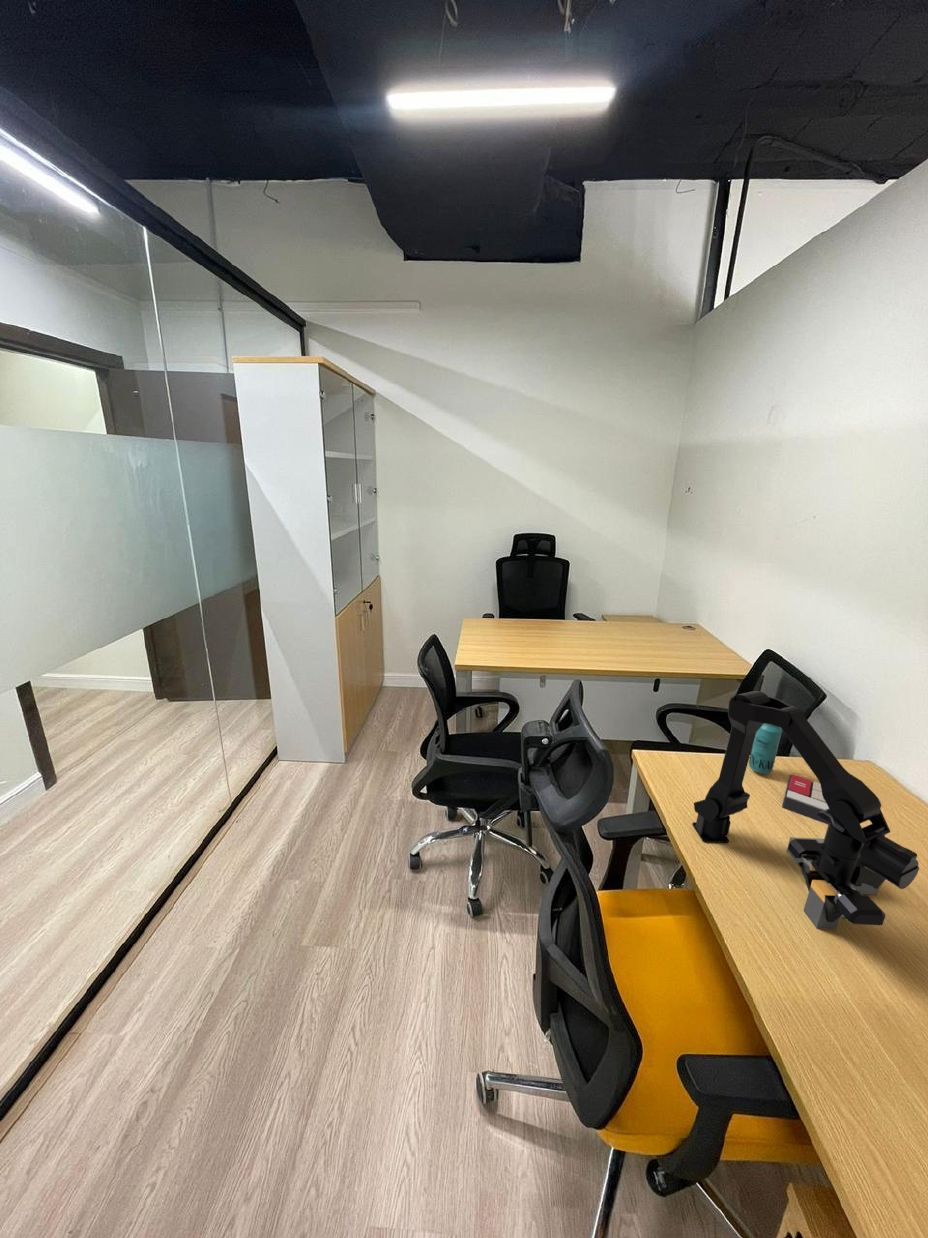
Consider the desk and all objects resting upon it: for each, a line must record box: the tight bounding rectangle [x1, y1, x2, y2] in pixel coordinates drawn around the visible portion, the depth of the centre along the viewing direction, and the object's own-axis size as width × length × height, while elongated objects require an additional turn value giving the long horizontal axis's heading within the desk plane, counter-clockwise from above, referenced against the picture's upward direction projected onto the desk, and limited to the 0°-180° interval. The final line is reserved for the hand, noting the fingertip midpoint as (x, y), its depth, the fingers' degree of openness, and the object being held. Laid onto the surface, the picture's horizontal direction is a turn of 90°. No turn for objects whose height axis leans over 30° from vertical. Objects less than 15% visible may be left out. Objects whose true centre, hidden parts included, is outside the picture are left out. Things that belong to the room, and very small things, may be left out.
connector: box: [803, 880, 842, 930], centre depth 97 cm, size 4×4×8 cm
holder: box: [786, 836, 880, 895], centre depth 110 cm, size 12×12×4 cm
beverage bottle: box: [748, 723, 783, 775], centre depth 145 cm, size 6×7×20 cm
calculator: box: [781, 774, 829, 825], centre depth 134 cm, size 11×4×15 cm
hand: (822, 912), depth 97 cm, fingers closed on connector, 4 cm apart
